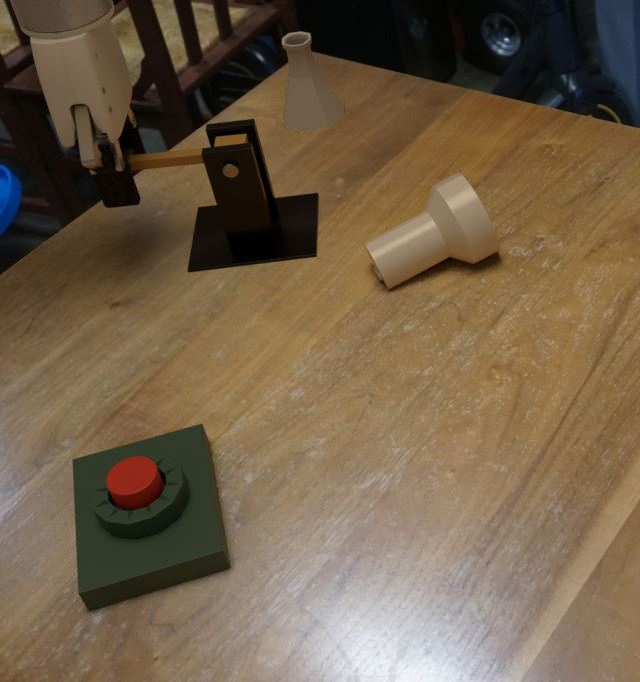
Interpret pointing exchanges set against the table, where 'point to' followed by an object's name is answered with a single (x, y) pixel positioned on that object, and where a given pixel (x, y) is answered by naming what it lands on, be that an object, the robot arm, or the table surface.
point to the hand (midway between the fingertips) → (127, 184)
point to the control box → (148, 521)
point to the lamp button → (134, 483)
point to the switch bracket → (248, 208)
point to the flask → (307, 88)
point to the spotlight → (435, 234)
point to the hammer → (172, 154)
